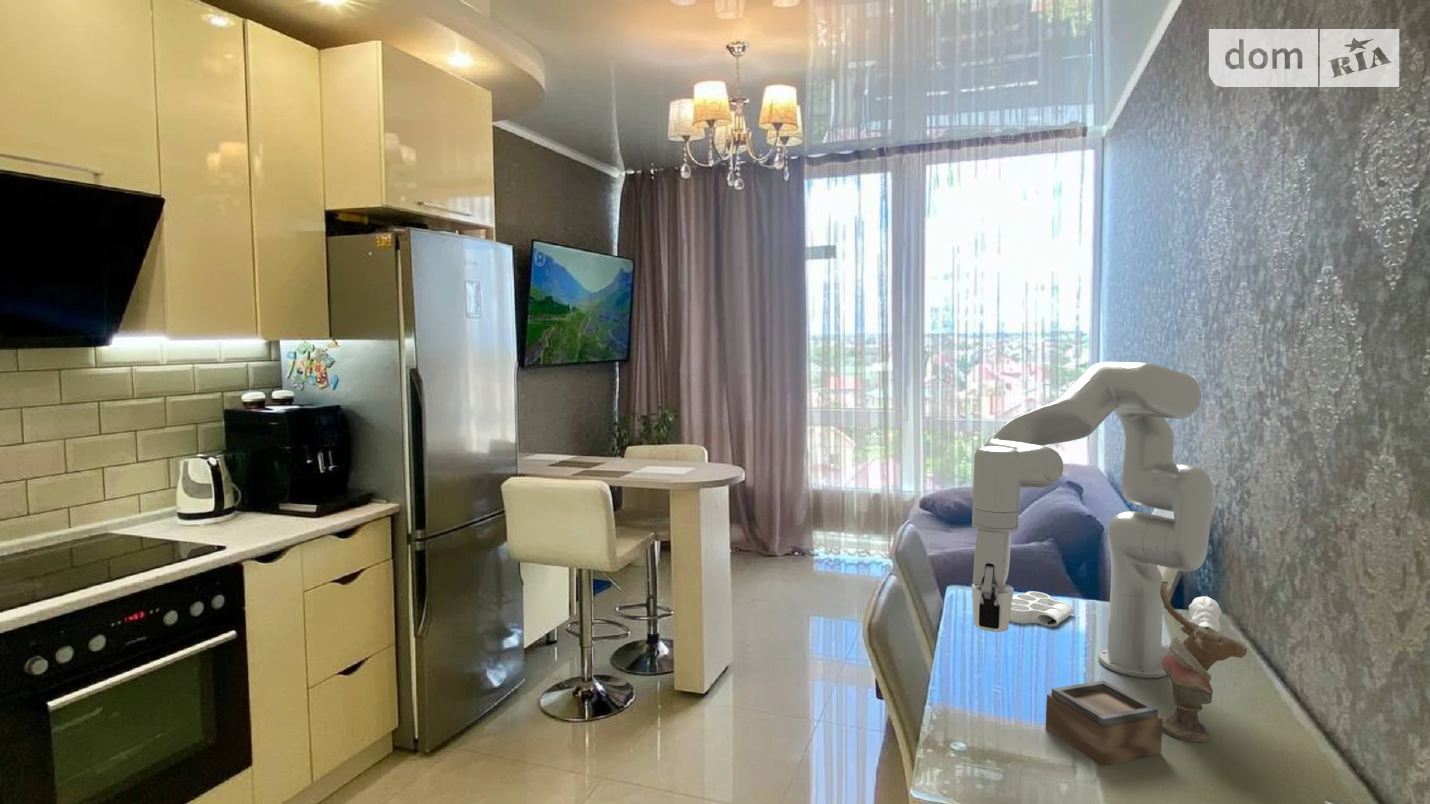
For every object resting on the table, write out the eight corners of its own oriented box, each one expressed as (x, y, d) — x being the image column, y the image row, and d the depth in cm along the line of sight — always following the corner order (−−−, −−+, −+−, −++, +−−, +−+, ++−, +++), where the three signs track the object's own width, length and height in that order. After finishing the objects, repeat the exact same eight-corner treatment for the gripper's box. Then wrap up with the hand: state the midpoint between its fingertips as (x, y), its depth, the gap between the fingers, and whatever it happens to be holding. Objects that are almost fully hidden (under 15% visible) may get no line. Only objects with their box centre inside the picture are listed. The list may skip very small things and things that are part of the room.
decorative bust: (1262, 737, 125) (1242, 586, 125) (1198, 756, 122) (1177, 602, 122) (1206, 712, 136) (1187, 573, 136) (1146, 729, 133) (1126, 587, 133)
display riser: (1101, 718, 134) (1103, 678, 133) (1160, 753, 122) (1163, 710, 122) (1045, 728, 130) (1047, 687, 129) (1101, 765, 118) (1103, 720, 118)
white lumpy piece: (1222, 596, 174) (1225, 616, 164) (1219, 631, 175) (1222, 654, 165) (1189, 591, 177) (1190, 611, 167) (1187, 626, 179) (1188, 647, 168)
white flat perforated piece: (1051, 633, 175) (989, 617, 185) (1078, 614, 188) (1018, 600, 198) (1052, 619, 174) (989, 603, 184) (1078, 600, 188) (1018, 587, 198)
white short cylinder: (1015, 634, 129) (1017, 594, 128) (972, 631, 130) (974, 591, 130) (1008, 620, 136) (1010, 581, 135) (968, 617, 137) (969, 579, 137)
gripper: (979, 507, 141) (976, 602, 142) (964, 526, 126) (960, 633, 127) (1023, 511, 137) (1019, 608, 139) (1012, 532, 122) (1008, 641, 124)
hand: (991, 619), depth 133 cm, fingers closed on white short cylinder, 6 cm apart
